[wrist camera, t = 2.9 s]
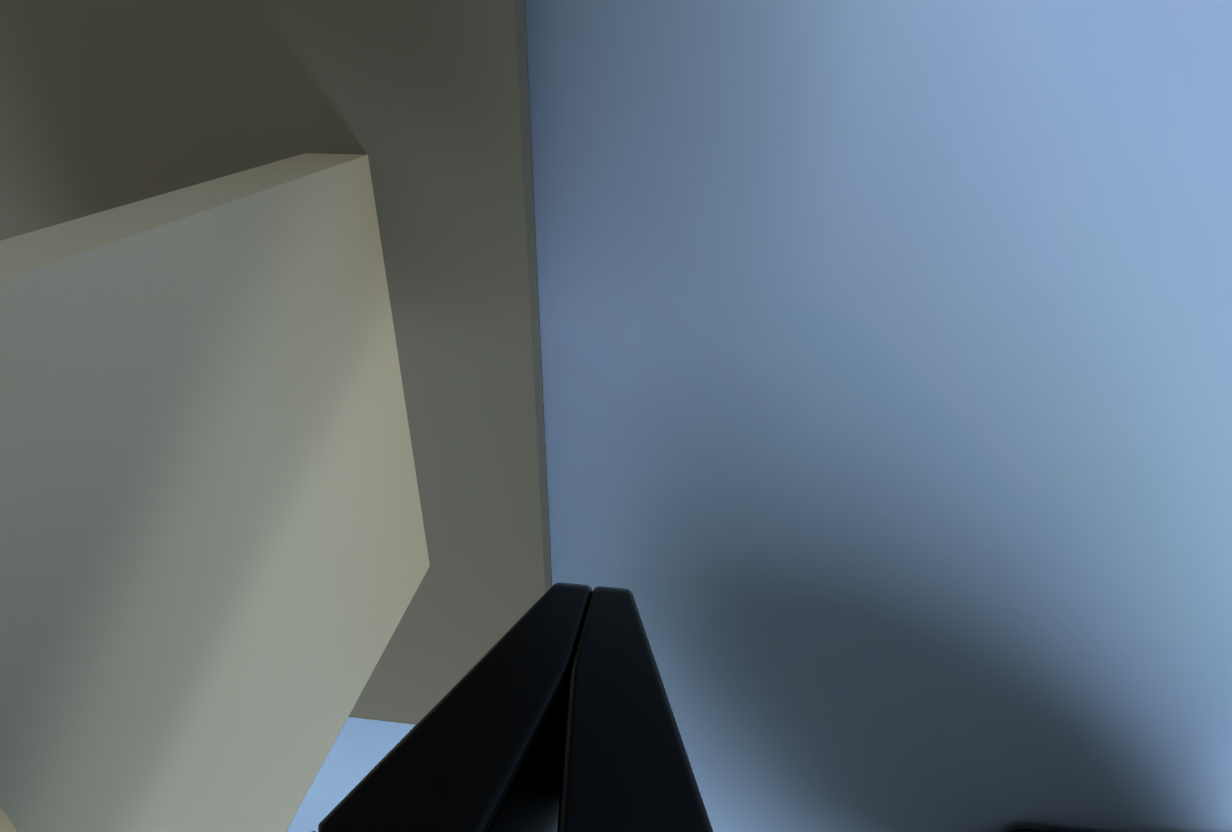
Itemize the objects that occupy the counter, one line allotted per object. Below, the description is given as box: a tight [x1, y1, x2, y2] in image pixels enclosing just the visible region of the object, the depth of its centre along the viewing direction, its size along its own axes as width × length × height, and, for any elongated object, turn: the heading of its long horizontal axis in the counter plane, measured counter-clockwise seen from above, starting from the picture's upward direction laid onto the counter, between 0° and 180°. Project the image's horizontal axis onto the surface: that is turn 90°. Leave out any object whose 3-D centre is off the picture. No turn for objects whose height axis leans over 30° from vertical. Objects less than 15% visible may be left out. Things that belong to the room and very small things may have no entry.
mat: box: [0, 0, 552, 725], centre depth 14 cm, size 16×18×1 cm
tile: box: [0, 153, 430, 832], centre depth 9 cm, size 1×8×8 cm, turn 179°
